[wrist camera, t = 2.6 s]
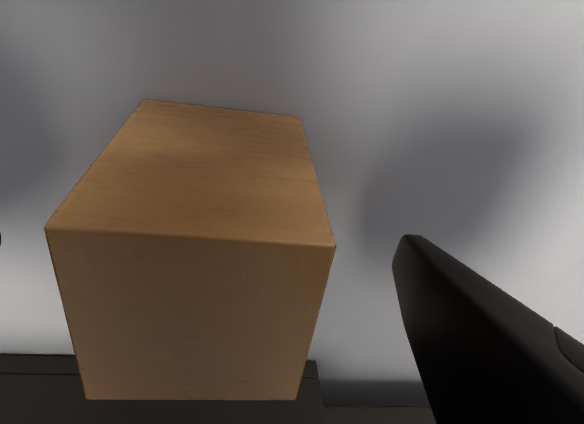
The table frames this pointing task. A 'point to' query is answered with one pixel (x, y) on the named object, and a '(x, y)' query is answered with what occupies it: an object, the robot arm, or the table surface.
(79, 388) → the drawer cabinet casing
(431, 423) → the red-fronted drawer
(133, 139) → the oak block
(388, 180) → the table surface
